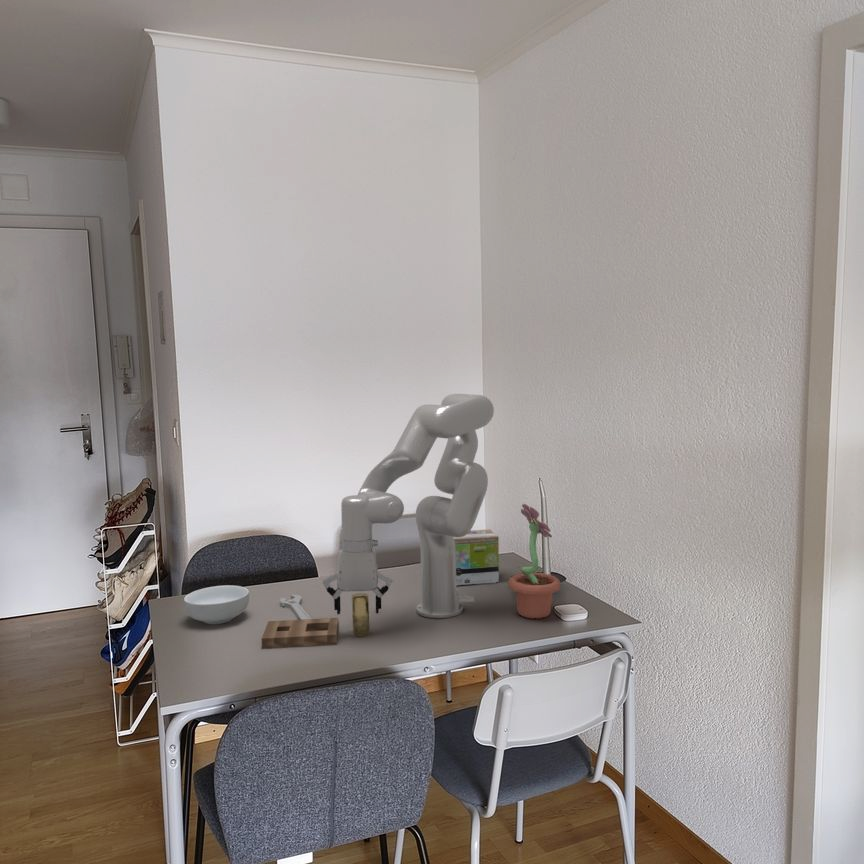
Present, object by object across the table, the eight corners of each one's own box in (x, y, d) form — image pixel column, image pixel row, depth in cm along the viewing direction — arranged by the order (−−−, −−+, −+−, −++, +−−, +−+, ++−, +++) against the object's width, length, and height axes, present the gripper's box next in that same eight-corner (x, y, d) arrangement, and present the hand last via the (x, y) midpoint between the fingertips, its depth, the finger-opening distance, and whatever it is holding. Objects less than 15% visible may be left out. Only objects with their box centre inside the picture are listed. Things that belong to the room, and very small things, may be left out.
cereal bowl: (250, 606, 220) (248, 581, 220) (250, 626, 204) (249, 600, 203) (187, 612, 216) (185, 588, 216) (183, 633, 200) (181, 607, 200)
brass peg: (369, 630, 198) (368, 592, 197) (369, 636, 194) (368, 598, 193) (353, 631, 198) (351, 593, 197) (352, 637, 194) (351, 598, 193)
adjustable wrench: (315, 629, 202) (315, 622, 202) (290, 632, 200) (290, 626, 200) (300, 599, 226) (300, 593, 226) (278, 602, 224) (277, 596, 224)
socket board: (338, 626, 202) (338, 617, 201) (336, 644, 190) (336, 634, 190) (268, 630, 200) (268, 621, 200) (262, 648, 189) (261, 638, 188)
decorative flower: (572, 620, 201) (571, 507, 198) (523, 627, 197) (521, 512, 194) (546, 602, 215) (545, 496, 212) (500, 609, 211) (498, 501, 208)
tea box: (451, 587, 232) (450, 539, 230) (444, 578, 242) (442, 531, 240) (499, 583, 235) (498, 535, 233) (490, 573, 244) (489, 527, 243)
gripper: (391, 541, 198) (392, 606, 199) (323, 542, 197) (324, 608, 198) (392, 548, 190) (392, 616, 192) (321, 549, 189) (322, 618, 191)
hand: (358, 612), depth 195 cm, fingers open, 9 cm apart
